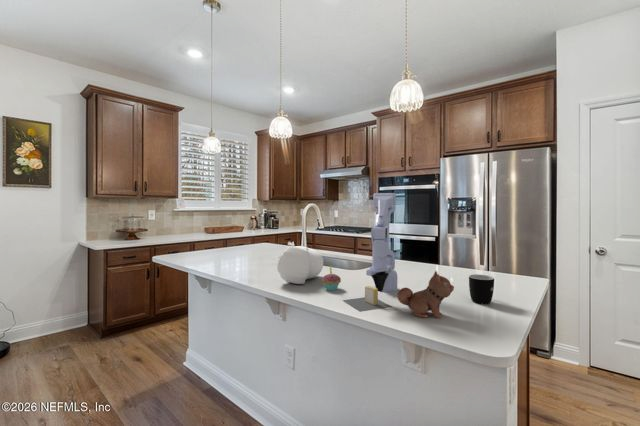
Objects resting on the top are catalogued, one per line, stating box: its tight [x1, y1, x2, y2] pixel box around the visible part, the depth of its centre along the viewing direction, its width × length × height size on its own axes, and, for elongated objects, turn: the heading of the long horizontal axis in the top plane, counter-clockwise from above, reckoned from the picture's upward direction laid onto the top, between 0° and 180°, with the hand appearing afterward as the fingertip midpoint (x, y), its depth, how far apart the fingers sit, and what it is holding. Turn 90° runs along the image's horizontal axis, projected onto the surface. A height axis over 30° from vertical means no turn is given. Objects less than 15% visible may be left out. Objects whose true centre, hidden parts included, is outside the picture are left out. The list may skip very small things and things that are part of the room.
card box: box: [364, 285, 379, 305], centre depth 123 cm, size 2×5×6 cm, turn 35°
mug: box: [468, 273, 495, 305], centre depth 126 cm, size 12×9×10 cm
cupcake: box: [321, 264, 342, 291], centre depth 143 cm, size 9×8×12 cm
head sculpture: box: [276, 241, 324, 285], centre depth 161 cm, size 19×20×28 cm
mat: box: [341, 296, 392, 312], centre depth 122 cm, size 14×14×1 cm
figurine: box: [397, 270, 455, 319], centre depth 112 cm, size 10×19×15 cm, turn 80°
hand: (379, 290), depth 124 cm, fingers closed
